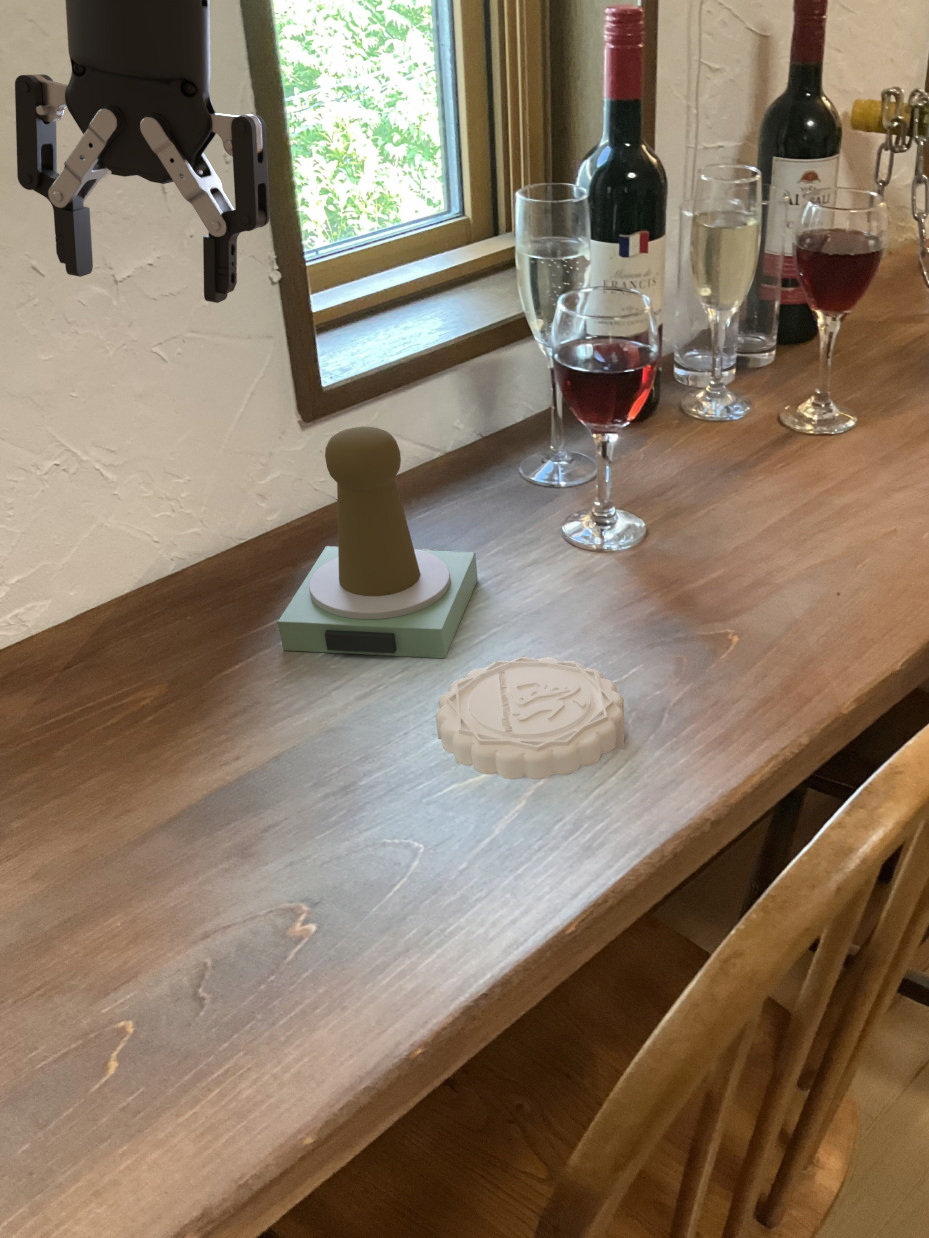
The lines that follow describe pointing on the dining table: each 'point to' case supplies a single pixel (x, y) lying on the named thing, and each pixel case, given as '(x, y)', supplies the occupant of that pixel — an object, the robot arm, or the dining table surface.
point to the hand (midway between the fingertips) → (148, 287)
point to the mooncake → (531, 718)
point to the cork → (370, 513)
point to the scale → (381, 610)
